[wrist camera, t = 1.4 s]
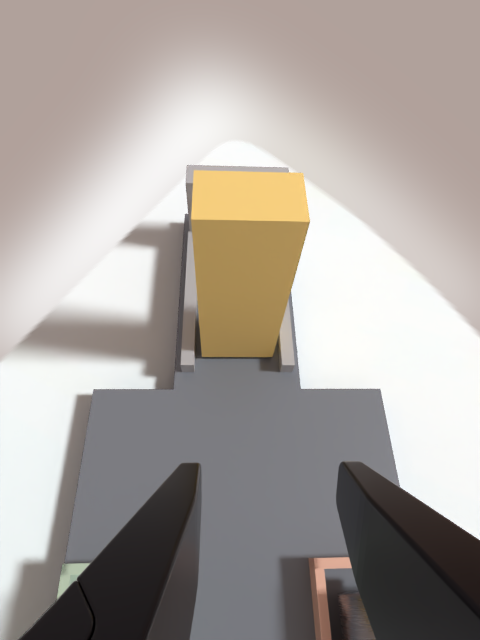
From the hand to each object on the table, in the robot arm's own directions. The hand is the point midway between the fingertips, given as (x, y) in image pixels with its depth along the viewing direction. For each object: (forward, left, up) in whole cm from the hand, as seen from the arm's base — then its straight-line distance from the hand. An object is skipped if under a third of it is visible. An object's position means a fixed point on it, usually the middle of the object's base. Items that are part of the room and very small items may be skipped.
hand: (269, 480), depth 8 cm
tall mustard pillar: (+7, +7, -12) cm, 16 cm away
